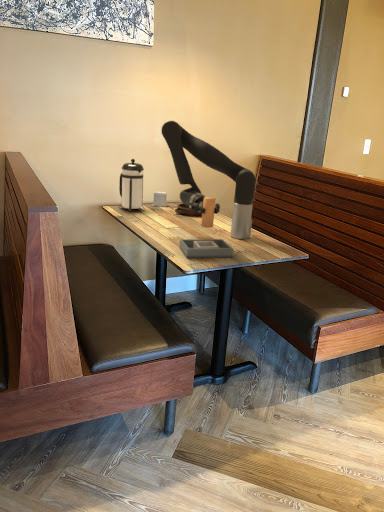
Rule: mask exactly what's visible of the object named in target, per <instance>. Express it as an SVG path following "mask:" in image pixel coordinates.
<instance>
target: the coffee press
mask: <svg viewBox="0 0 384 512" xmlns="http://www.w3.org/2000/svg"><path fill="white" fill-rule="evenodd" d="M130 161H131V162H125V163H123V165H122V167H121V171H122V172H120V175H119V187H118V189H119V196H120V197H121V204H120V206H119V207H118V208H119V209H120V210H122V209H123V208H124V209H128V212H129V213H131V212H132V210H135V209H141V211H143V209H145V206H143V201H144V200H143V198H144V170H145V168H144V166H143V165H142V164H141V163H137V162H136V160H135V158H131V160H130Z"/></svg>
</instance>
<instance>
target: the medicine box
mask: <svg viewBox="0 0 384 512" xmlns="http://www.w3.org/2000/svg"><path fill="white" fill-rule="evenodd" d="M152 205H153V207H165V208H166V207H167V192H166V191H154V193H153V204H152Z"/></svg>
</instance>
